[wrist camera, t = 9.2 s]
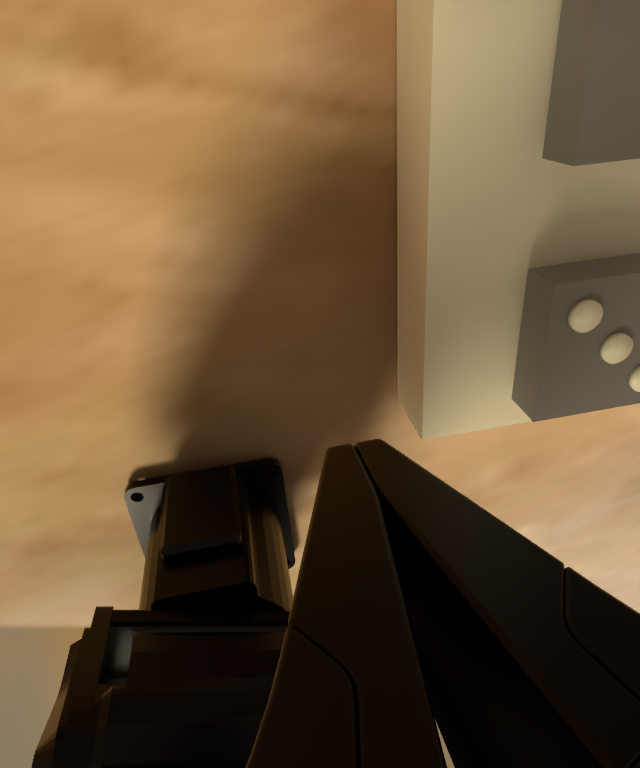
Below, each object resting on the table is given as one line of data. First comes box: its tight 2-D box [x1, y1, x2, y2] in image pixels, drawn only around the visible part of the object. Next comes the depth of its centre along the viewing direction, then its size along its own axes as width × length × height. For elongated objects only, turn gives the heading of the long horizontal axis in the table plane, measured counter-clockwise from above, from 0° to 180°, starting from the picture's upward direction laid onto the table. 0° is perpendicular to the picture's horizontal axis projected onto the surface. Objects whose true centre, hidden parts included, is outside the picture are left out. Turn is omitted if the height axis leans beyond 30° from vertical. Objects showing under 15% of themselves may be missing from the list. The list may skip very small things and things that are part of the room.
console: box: [397, 0, 640, 440], centre depth 16 cm, size 24×11×3 cm, turn 4°
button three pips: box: [511, 253, 640, 422], centre depth 17 cm, size 5×5×2 cm
